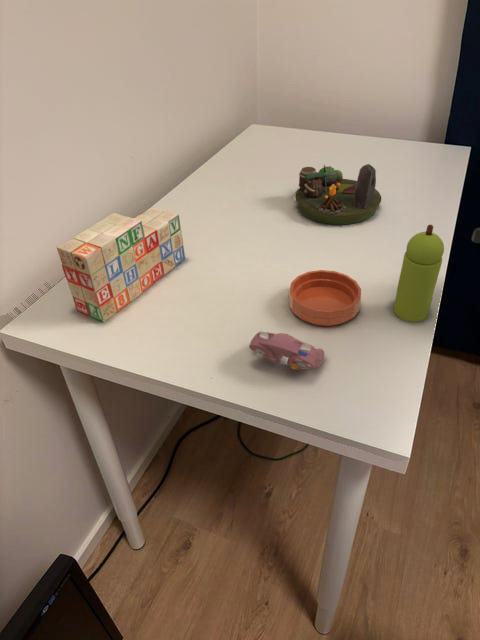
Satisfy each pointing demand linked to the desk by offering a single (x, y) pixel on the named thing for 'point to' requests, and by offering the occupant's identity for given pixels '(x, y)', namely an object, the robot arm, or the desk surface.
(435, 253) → the pear toy
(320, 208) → the toy scene
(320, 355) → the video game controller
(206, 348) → the desk surface
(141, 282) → the stack of blocks
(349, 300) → the bowl
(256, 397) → the desk surface
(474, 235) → the robot arm
